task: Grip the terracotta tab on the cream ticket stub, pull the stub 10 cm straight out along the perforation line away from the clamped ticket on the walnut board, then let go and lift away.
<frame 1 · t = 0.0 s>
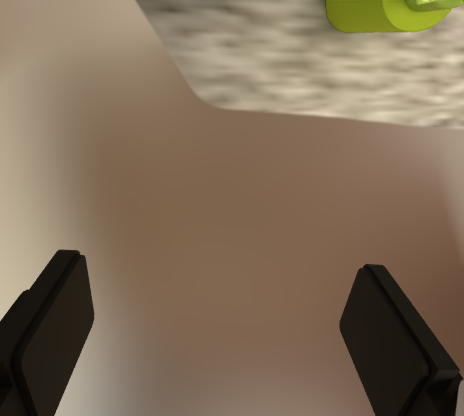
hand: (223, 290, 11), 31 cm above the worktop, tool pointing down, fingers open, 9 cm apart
soap dispenser: (347, 2, 34), on the worktop
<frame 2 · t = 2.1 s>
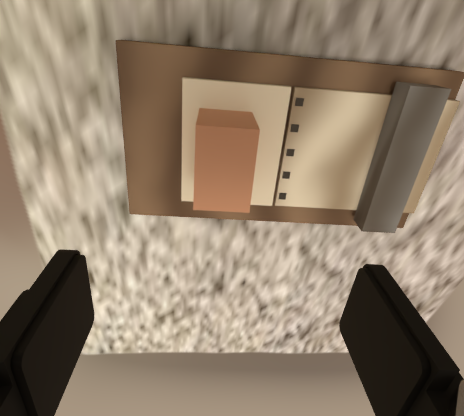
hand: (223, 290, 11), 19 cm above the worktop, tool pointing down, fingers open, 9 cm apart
ticket stub: (233, 158, 24), point 4 cm above the worktop, slide at 0.0 cm
ticket board: (279, 144, 28), on the worktop
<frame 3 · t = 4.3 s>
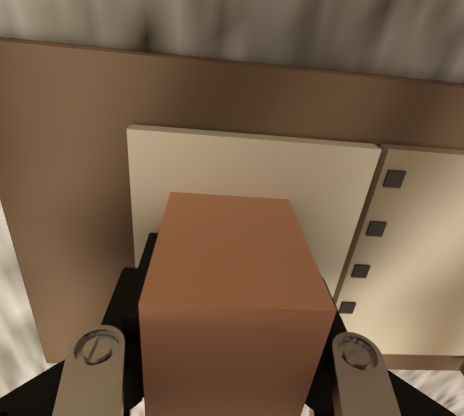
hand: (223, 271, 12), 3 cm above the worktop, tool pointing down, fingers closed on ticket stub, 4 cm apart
ticket stub: (245, 310, 10), point 4 cm above the worktop, slide at 0.0 cm, touching gripper
ticket board: (331, 239, 15), on the worktop
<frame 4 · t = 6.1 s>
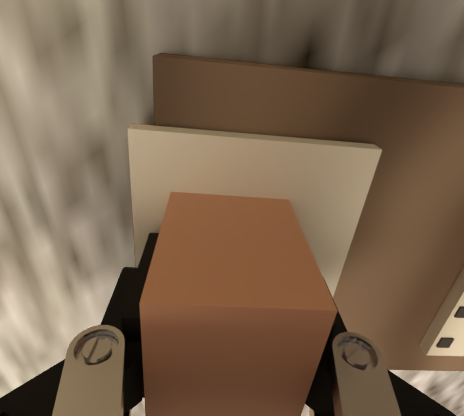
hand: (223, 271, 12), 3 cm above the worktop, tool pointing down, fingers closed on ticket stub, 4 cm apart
ticket stub: (246, 310, 10), point 4 cm above the worktop, slide at 5.4 cm, touching gripper
ticket board: (441, 246, 15), on the worktop
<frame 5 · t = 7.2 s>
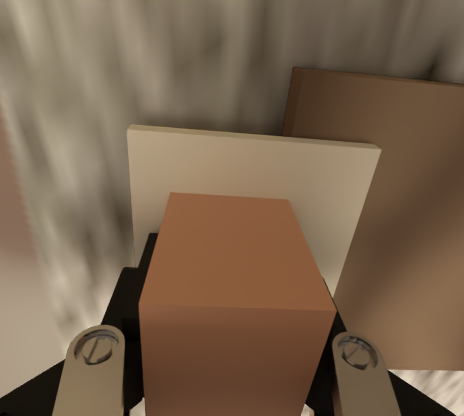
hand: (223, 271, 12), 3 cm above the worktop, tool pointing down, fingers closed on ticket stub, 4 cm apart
ticket stub: (246, 310, 10), point 4 cm above the worktop, slide at 9.9 cm, touching gripper
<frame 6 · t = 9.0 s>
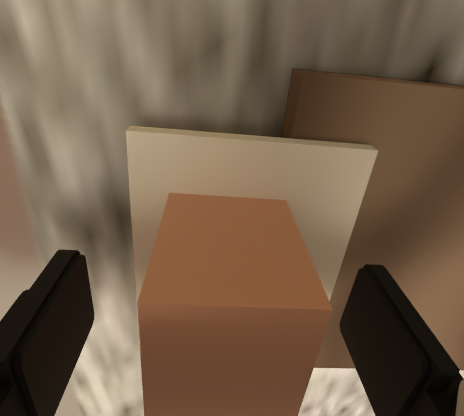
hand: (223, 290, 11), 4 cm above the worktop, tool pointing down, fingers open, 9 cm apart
ticket stub: (244, 310, 10), point 4 cm above the worktop, slide at 10.0 cm
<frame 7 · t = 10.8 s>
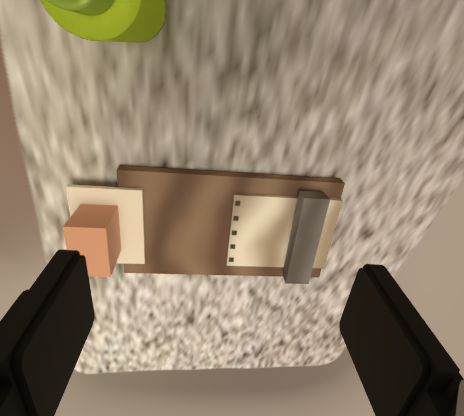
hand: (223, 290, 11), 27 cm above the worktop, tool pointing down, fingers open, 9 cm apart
ticket stub: (102, 238, 35), point 4 cm above the worktop, slide at 10.0 cm
ticket board: (228, 223, 40), on the worktop
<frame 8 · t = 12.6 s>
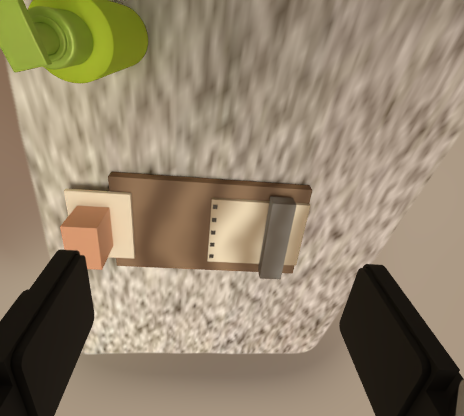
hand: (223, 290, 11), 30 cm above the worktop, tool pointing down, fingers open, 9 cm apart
ticket stub: (95, 236, 40), point 4 cm above the worktop, slide at 10.0 cm
soap dispenser: (118, 31, 33), on the worktop
ticket board: (209, 224, 45), on the worktop
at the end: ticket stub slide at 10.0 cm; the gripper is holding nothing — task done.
